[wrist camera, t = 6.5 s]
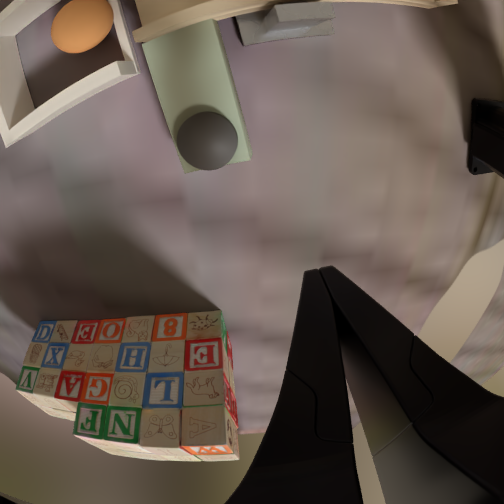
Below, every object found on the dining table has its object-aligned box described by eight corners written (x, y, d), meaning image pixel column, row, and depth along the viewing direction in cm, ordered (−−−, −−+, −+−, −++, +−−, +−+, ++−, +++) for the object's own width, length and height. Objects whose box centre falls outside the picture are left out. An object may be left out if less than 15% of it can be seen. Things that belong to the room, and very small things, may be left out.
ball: (36, 11, 6) (59, 21, 8) (48, 63, 8) (71, 65, 11) (99, -24, 6) (112, -5, 9) (112, 28, 8) (124, 39, 11)
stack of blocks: (66, 351, 28) (44, 438, 18) (39, 319, 24) (5, 414, 14) (233, 346, 28) (241, 462, 18) (222, 307, 24) (228, 448, 14)
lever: (396, -78, 4) (417, -97, 1) (440, 137, 12) (468, 158, 9) (128, -38, 7) (96, -48, 4) (190, 165, 15) (171, 190, 13)
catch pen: (110, -37, 7) (89, -52, 4) (141, 72, 12) (121, 74, 10) (6, 34, 8) (-24, 37, 5) (33, 132, 13) (6, 147, 10)
